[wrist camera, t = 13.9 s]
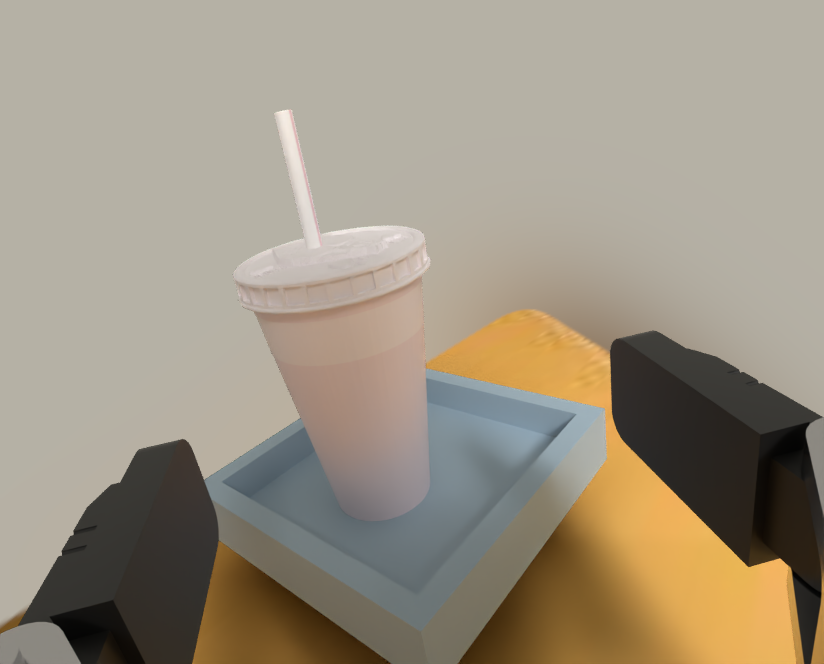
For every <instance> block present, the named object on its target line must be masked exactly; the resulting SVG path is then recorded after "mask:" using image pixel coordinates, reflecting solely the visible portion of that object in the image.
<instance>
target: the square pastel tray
mask: <svg viewBox="0 0 824 664" xmlns="http://www.w3.org/2000/svg"><path fill="white" fill-rule="evenodd" d="M426 390H427V414H428V439H429V464H430V488H429V491H428V493H427V495H426V496H425V498H424V499H423V500H422V501H421V503H419V504H418V505H417V506H416V507H415V508H413V509H412V510H410V511H409V512H407V513H405V514H403V515H401V516H398V517H395V518H392V519H388V520H383V521H363V520H358V519H355V518H353V517H351V516H349V515H347V514H346V513H345V512H344V511H343V510H342V509H341V508H340V506H339V503H338V501H337V499H336V497H335V494H334V492H333V490H332V488H331V485H330V483H329V481H328V479H327V476H326V474H325V472H324V469H323V467H322V465H321V463H320V460H319V458H318V456H317V454H316V451H315V449H314V447H313V445H312V442H311V440H310V438H309V436H308V433H307V431H306V429H305V426H304V424H303V422H302V420H301V418H300V419H298V420H297V421H295V422H294V423H292V424H290V425H289V426H287V427H286V428H284V429H283V430H281V431H279V432H278V433H276V434H275V435H273V436H272V437H270V438H269V439H267V440H266V441H264V442H262V443H261V444H259V445H258V446H256V447H255V448H253V449H251V450H250V451H248V452H247V453H245V454H244V455H242V456H241V457H239V458H238V459H236V460H234V461H233V462H232V463H230V464H228V465H227V466H225V467H223V468H222V469H220V470H219V471H217V472H216V473H214V474H213V475H211V476H209V477H208V478H206V479H205V480H204V482H205V484H206V487H207V489H208V492H209V495H210V497H211V500H212V503H213V505H214V508H215V511H216V515H217V520H218V528H219V541H221V542H222V543H223V544H225V545H226V546H228V547H229V548H230V549H232V550H233V551H235V552H236V553H237V554H239V555H240V556H242V557H243V558H244V559H246V560H247V561H249V562H250V563H251V564H253V565H254V566H256V567H257V568H258V569H260V570H261V571H263V572H264V573H265V574H267V575H268V576H270V577H271V578H272V579H274V580H275V581H277V582H278V583H279V584H281V585H282V586H284V587H285V588H286V589H288V590H289V591H291V592H292V593H293V594H295V595H296V596H298V597H299V598H300V599H302V600H303V601H305V602H306V603H307V604H309V605H310V606H312V607H313V608H314V609H316V610H317V611H319V612H320V613H321V614H323V615H324V616H326V617H327V618H328V619H330V620H331V621H333V622H334V623H335V624H337V625H338V626H340V627H341V628H342V629H344V630H345V631H347V632H348V633H349V634H351V635H352V636H354V637H355V638H356V639H358V640H359V641H361V642H362V643H363V644H365V645H366V646H368V647H369V648H370V649H372V650H373V651H375V652H376V653H377V654H379V655H380V656H382V657H383V658H384V659H386V660H387V661H389V662H390V663H391V664H458V662H459V661H460V660H461V658H462V657H463V655H464V654H465V653H466V651H467V650H468V649H469V647H470V646H471V644H472V643H473V642H474V640H475V639H476V638H477V636H478V635H479V633H480V632H481V631H482V629H483V628H484V627H485V625H486V624H487V622H488V621H489V620H490V618H491V617H492V616H493V614H494V613H495V612H496V610H497V609H498V607H499V606H500V605H501V603H502V602H503V601H504V599H505V598H506V596H507V595H508V594H509V592H510V591H511V590H512V588H513V587H514V585H515V584H516V583H517V581H518V580H519V579H520V577H521V576H522V574H523V573H524V572H525V570H526V569H527V568H528V566H529V565H530V563H531V562H532V561H533V559H534V558H535V557H536V555H537V554H538V552H539V551H540V550H541V548H542V547H543V546H544V544H545V543H546V541H547V540H548V539H549V537H550V536H551V535H552V533H553V532H554V530H555V529H556V528H557V526H558V525H559V524H560V522H561V521H562V519H563V518H564V517H565V515H566V514H567V513H568V511H569V510H570V509H571V507H572V506H573V504H574V503H575V502H576V500H577V499H578V498H579V496H580V495H581V493H582V492H583V491H584V489H585V488H586V487H587V485H588V484H589V482H590V481H591V480H592V478H593V477H594V476H595V474H596V473H597V471H598V470H599V469H600V467H601V466H602V465H603V463H604V462H605V460H606V459H607V455H606V428H605V409H604V408H599V407H595V406H591V405H586V404H582V403H577V402H573V401H568V400H564V399H559V398H555V397H551V396H546V395H542V394H537V393H533V392H528V391H524V390H519V389H515V388H510V387H506V386H502V385H497V384H493V383H488V382H484V381H479V380H475V379H470V378H466V377H462V376H457V375H453V374H448V373H444V372H439V371H435V370H430V369H426Z"/></svg>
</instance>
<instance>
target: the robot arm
mask: <svg viewBox="0 0 824 664" xmlns="http://www.w3.org/2000/svg"><path fill="white" fill-rule="evenodd" d="M610 361H611V394H612V414H613V419H614V423H615V426H616V429H617V431H618V433H619V435H620V437H621V438H622V440H623V441H624V442H625V443H626V444H627V445H628V446H629V447H630V448H631V449H632V450H633V451H634V452H635V453H636V454H637V455H638V456H639V457H640V458H641V459H642V460H643V461H644V462H645V463H646V464H647V465H648V466H649V467H650V469H651V470H652V471H653V472H654V473H655V474H656V475H657V476H658V477H659V478H660V479H661V480H662V481H663V482H664V483H665V484H666V485H667V486H668V487H669V488H670V489H671V490H672V491H673V492H674V493H675V494H676V495H677V496H678V497H679V498H680V499H681V500H682V501H683V502H684V503H685V504H686V505H687V506H688V507H689V508H690V509H691V510H692V511H693V512H694V513H695V514H696V515H697V516H698V517H699V518H700V519H701V520H702V521H703V522H704V523H705V524H706V525H707V526H708V527H709V528H710V529H711V530H712V531H713V532H714V533H715V534H716V535H717V536H718V537H719V538H720V539H721V540H722V541H723V542H724V543H725V544H726V545H727V546H728V547H729V548H730V549H731V550H732V551H733V552H734V553H735V554H736V555H737V556H738V557H739V558H740V559H741V560H742V561H743V562H744V563H745V564H746V565H747V566H748V567H751V566H754V565H758V564H761V563H765V562H768V561H772V560H775V559H779V558H781V559H782V560H783V561H784V562H785V563H786V564H787V565H788V566H789V567H788V575H787V591H788V599H789V607H790V615H791V623H792V631H793V640H794V648H795V656H796V664H824V417H822V416H820V415H818V414H816V413H815V412H813V411H811V410H809V409H808V408H806V407H804V406H802V405H801V404H798V403H797V402H795V401H794V400H792V399H790V398H788V397H786V396H785V395H783V394H781V393H779V392H778V391H776V390H774V389H772V388H771V387H769V386H767V385H765V384H763V383H760V384H759V383H758V380H756V379H755V378H753V377H751V376H750V375H748V374H746V373H744V372H741V373H740V372H739V369H737V368H735V367H734V366H732V365H730V364H728V363H727V362H725V361H723V360H721V359H720V358H718V357H715V356H712V355H709V354H704V353H701V352H698V351H695V350H691V349H686V348H684V347H683V346H681V345H679V344H678V343H676V342H674V341H672V340H671V339H669V338H668V337H666V336H664V335H663V334H661V333H659V332H657V331H649V332H645V333H640V334H636V335H632V336H627V337H623V338H619V339H616V340H615V341H613V343H612V345H611V350H610ZM218 540H219V528H218V520H217V515H216V511H215V508H214V505H213V503H212V500H211V497H210V495H209V492H208V489H207V487H206V484H205V482H204V479H203V476H202V474H201V471H200V468H199V466H198V463H197V461H196V458H195V455H194V453H193V450H192V448H191V446H190V445H189V443H188V442H187V441H186V440H184V439H181V440H178V441H173V442H168V443H164V444H160V445H156V446H151V447H147V448H143V449H139V450H138V451H137V452H136V454H135V456H134V458H133V460H132V461H131V463H130V465H129V467H128V469H127V471H126V473H125V475H124V477H123V478H122V480H121V482H120V483H117V484H112V485H110V486H109V487H108V488H107V489H106V490H105V491H104V492H103V493H102V494H101V495H100V496H99V497H98V498H97V499H96V500H95V501H93V503H91V504H90V505H89V506H88V507H87V509H86V510H85V512H84V514H83V515H82V517H81V519H80V520H79V522H78V524H77V526H76V527H75V529H74V535H73V536H70V538H69V540H68V541H67V543H66V544H65V546H64V548H63V550H62V556H59V557H58V558H57V560H56V562H55V564H54V565H53V567H52V569H51V570H50V572H49V574H48V576H47V577H46V579H45V580H44V582H43V584H42V586H41V587H40V589H39V591H38V593H37V594H36V596H35V598H34V599H33V601H32V603H31V605H30V606H29V608H28V610H27V611H26V613H25V615H24V617H23V618H22V620H21V622H20V623H19V625H18V626H17V627H15V628H12V629H10V630H7V631H5V632H3V633H1V634H0V664H192V661H193V657H194V652H195V648H196V643H197V638H198V634H199V629H200V625H201V620H202V616H203V611H204V606H205V602H206V597H207V593H208V588H209V584H210V579H211V574H212V570H213V565H214V561H215V556H216V552H217V547H218Z"/></svg>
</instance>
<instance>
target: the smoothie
mask: <svg viewBox="0 0 824 664" xmlns="http://www.w3.org/2000/svg"><path fill="white" fill-rule="evenodd" d="M274 116H275V121H276V124H277V128H278V133H279V137H280V141H281V145H282V149H283V153H284V157H285V161H286V165H287V170H288V174H289V178H290V182H291V186H292V190H293V194H294V198H295V202H296V206H297V210H298V215H299V219H300V222H301V227H302V231H303V235H304V238H302V239H298V240H295V241H292V242H288V243H285V244H282V245H279V246H276V247H273V248H270V249H268V250H265V251H263V252H261V253H259V254H257V255H254V256H252V257H250V258H249V259H247V260H246V261H244V262H242V263H241V264H240V265H239V266H238V267H237V268H236V269H235V272H234V273H233V277H234V280H235V283H236V287H237V290H238V293H239V299H238V301H239V302H240V303H241V305H242V306H243V308H245V309H248V310H251V311H253V312H254V313H255V315H256V317H257V319H258V322H259V324H260V326H261V329H262V331H263V333H264V336H265V338H266V340H267V343H268V345H269V348H270V350H271V353H272V354H273V356H274V358H275V361H276V363H277V365H278V368H279V370H280V372H281V374H282V376H283V379H284V381H285V383H286V385H287V388H288V390H289V392H290V395H291V397H292V399H293V401H294V404H295V406H296V408H297V411H298V413H299V415H300V417H301V420H302V422H303V424H304V426H305V429H306V431H307V433H308V436H309V438H310V440H311V442H312V445H313V447H314V449H315V451H316V454H317V456H318V458H319V460H320V463H321V465H322V467H323V469H324V472H325V474H326V476H327V479H328V481H329V483H330V485H331V488H332V490H333V492H334V494H335V497H336V499H337V501H338V503H339V506H340V508H341V509H342V510H343V511H344V512H345V513H346V514H347V515H349V516H351V517H353V518H355V519H358V520H363V521H383V520H388V519H392V518H395V517H398V516H401V515H403V514H405V513H407V512H409V511H410V510H412V509H413V508H415V507H416V506H417V505H418V504H419V503H421V501H422V500H423V499H424V498H425V496H426V495H427V493H428V491H429V488H430V464H429V439H428V414H427V390H426V365H425V341H424V309H423V292H422V275H423V274H424V273H425V272H426V271H427V270H428V269H429V267H430V261H431V258H430V257H429V256H428V255H427V251H426V244H425V236H424V234H423V233H422V232H420V231H419V230H417V229H414V228H410V227H404V226H371V227H360V228H352V229H345V230H339V231H333V232H328V233H323V234H321V233H320V229H319V225H318V220H317V216H316V212H315V207H314V203H313V199H312V194H311V191H310V186H309V181H308V177H307V173H306V169H305V164H304V160H303V156H302V151H301V147H300V143H299V139H298V134H297V130H296V126H295V122H294V117H293V113H292V109H291V110H284V111H279V112H274Z"/></svg>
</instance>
